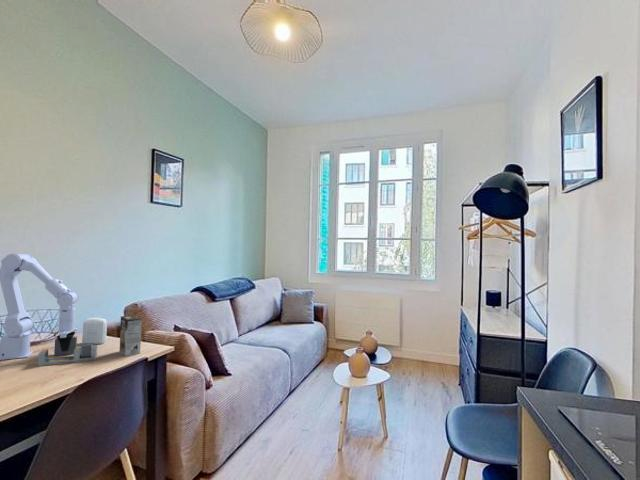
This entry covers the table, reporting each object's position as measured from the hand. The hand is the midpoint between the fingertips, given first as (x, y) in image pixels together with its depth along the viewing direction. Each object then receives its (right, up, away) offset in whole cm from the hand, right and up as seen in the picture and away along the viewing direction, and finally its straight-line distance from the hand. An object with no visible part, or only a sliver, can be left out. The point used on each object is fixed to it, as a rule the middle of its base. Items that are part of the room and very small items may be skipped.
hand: (65, 350), depth 147 cm
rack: (+8, -2, -8) cm, 12 cm away
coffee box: (+26, -3, +5) cm, 26 cm away
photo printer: (+1, -2, +17) cm, 17 cm away
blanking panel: (0, -2, 0) cm, 2 cm away
